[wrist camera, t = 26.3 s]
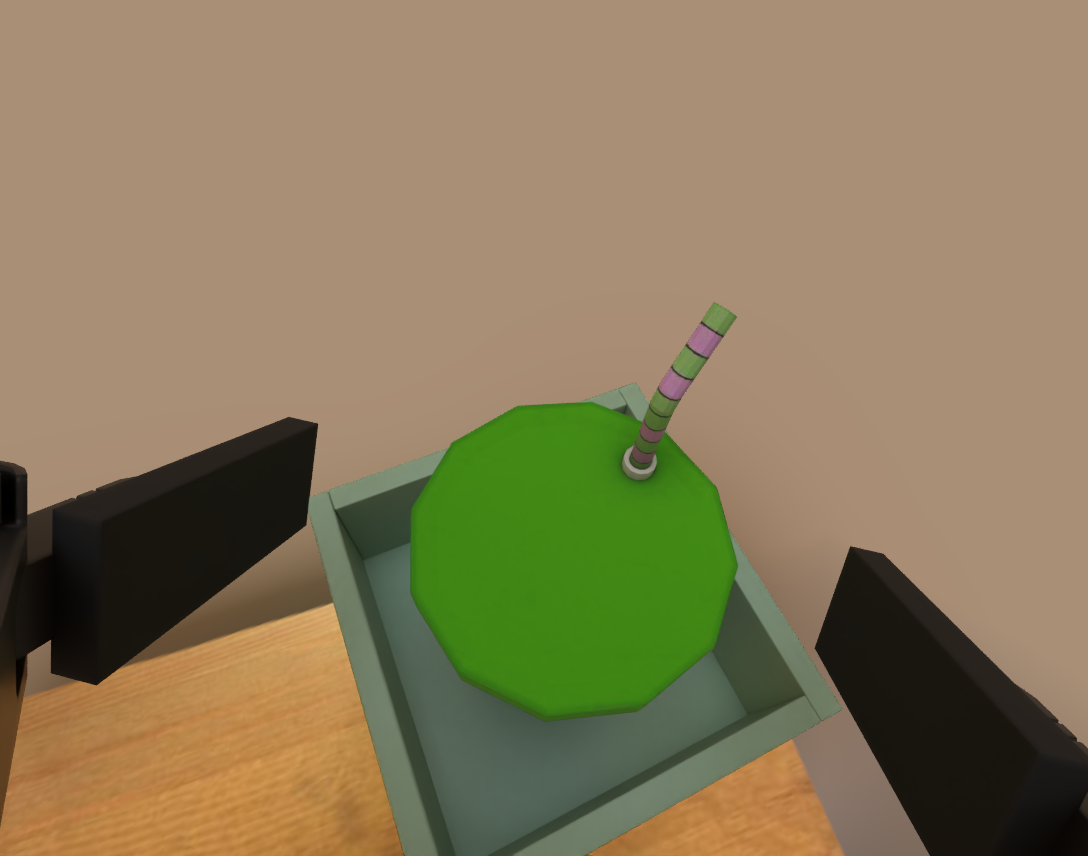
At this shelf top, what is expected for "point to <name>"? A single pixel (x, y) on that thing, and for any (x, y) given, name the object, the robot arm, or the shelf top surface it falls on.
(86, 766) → the shelf top surface
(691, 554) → the cup
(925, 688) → the robot arm
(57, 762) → the shelf top surface
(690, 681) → the bin
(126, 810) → the shelf top surface
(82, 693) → the shelf top surface
